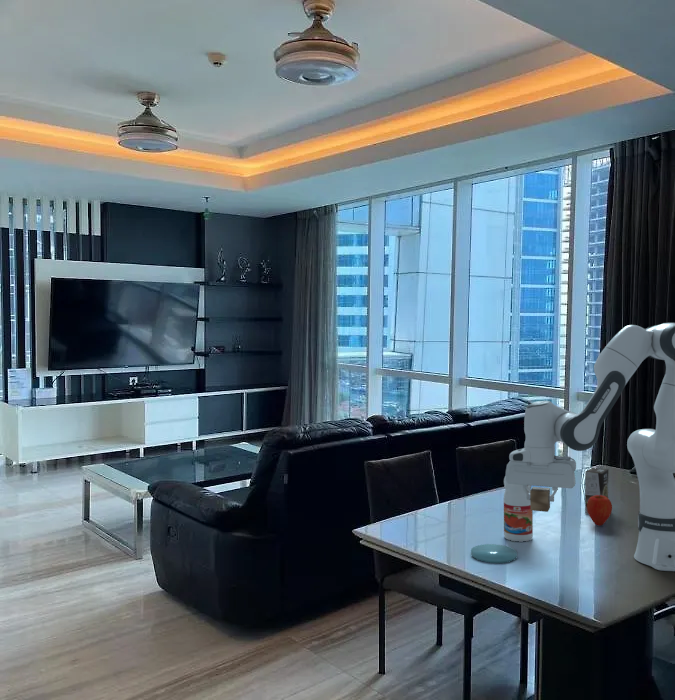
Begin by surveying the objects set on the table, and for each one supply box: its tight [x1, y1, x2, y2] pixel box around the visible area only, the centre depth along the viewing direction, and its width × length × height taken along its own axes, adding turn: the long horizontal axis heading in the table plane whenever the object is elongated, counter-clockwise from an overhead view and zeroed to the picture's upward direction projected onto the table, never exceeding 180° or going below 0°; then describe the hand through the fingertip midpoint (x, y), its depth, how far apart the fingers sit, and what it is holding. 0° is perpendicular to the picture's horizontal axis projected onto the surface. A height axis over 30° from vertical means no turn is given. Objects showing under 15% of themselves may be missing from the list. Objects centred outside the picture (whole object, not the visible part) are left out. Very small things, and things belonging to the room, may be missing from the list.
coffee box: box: [584, 467, 609, 515], centre depth 258 cm, size 9×6×16 cm
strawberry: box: [587, 495, 613, 527], centre depth 242 cm, size 9×8×11 cm
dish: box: [470, 543, 518, 564], centre depth 213 cm, size 14×14×1 cm
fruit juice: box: [503, 475, 534, 543], centre depth 229 cm, size 9×9×28 cm
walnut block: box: [530, 486, 551, 513], centre depth 207 cm, size 5×5×6 cm
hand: (540, 500), depth 207 cm, fingers closed on walnut block, 5 cm apart
